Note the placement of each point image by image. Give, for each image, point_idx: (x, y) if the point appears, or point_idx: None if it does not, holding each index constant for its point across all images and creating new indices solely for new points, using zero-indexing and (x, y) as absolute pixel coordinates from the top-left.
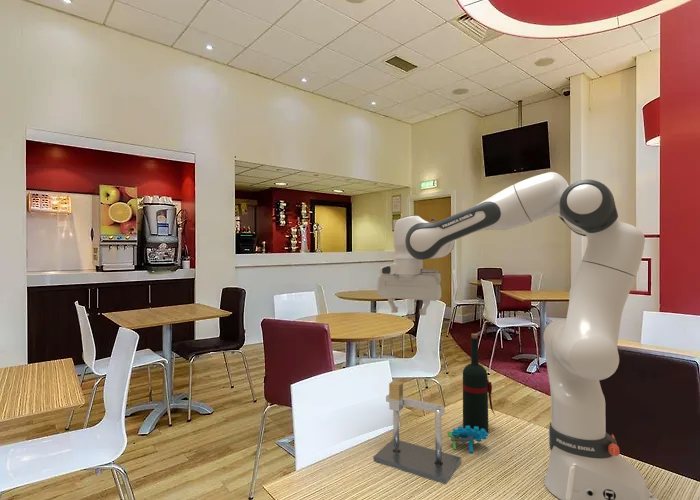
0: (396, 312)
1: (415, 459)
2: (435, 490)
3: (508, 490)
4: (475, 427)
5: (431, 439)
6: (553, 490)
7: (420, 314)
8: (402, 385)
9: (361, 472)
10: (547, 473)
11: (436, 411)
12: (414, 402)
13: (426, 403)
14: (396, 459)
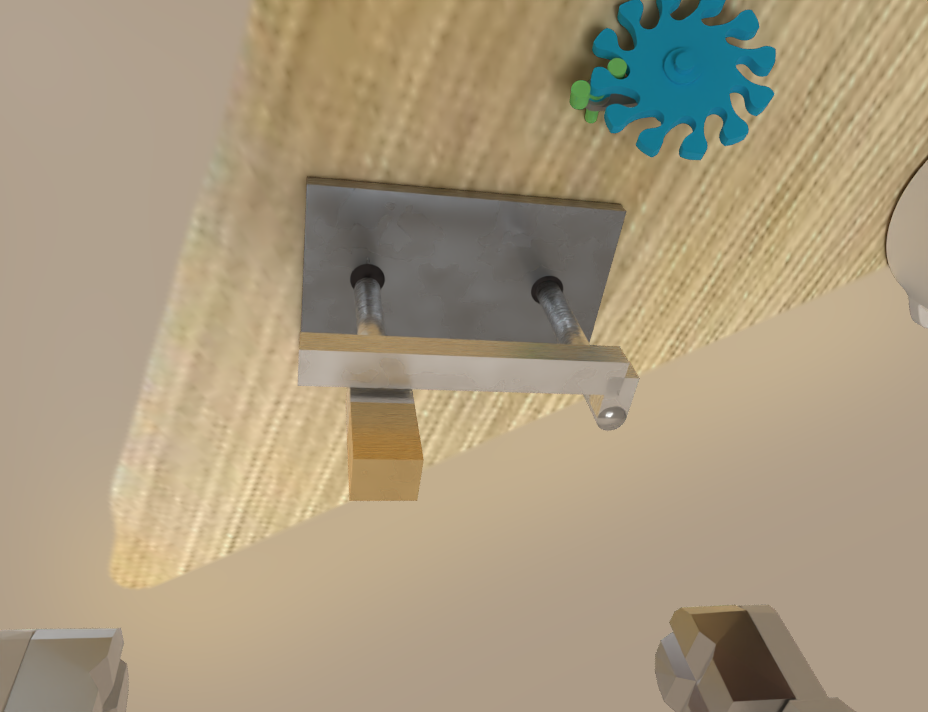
0: (115, 656)
1: (459, 304)
2: (551, 396)
3: (764, 303)
4: (732, 140)
5: (469, 55)
6: (900, 275)
7: (670, 670)
8: (421, 453)
9: (300, 419)
10: (921, 236)
11: (603, 427)
12: (480, 389)
13: (545, 379)
14: (391, 335)
